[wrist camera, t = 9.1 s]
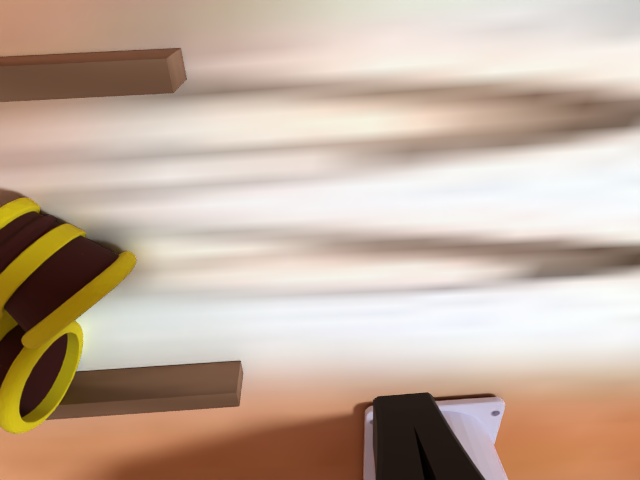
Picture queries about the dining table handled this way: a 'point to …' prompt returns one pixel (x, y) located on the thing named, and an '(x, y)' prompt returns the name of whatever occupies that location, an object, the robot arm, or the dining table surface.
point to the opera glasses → (45, 308)
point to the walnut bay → (100, 81)
